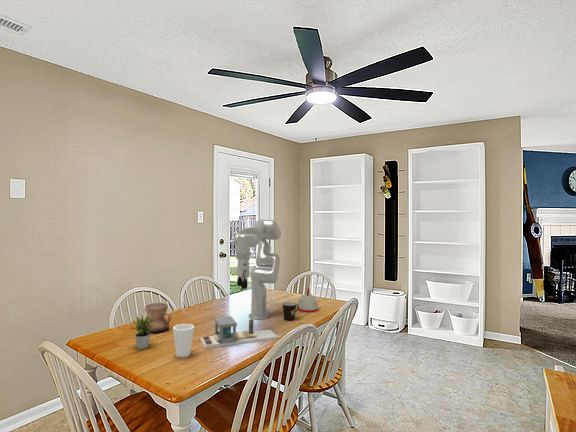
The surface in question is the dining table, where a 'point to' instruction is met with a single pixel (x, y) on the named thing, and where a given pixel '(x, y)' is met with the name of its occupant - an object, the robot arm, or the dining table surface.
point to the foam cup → (183, 339)
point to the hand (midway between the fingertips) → (242, 287)
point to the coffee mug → (289, 310)
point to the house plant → (143, 331)
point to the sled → (237, 333)
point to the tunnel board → (234, 335)
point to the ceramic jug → (160, 311)
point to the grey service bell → (308, 303)
